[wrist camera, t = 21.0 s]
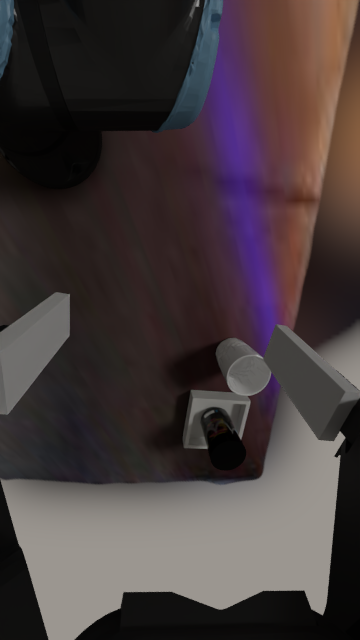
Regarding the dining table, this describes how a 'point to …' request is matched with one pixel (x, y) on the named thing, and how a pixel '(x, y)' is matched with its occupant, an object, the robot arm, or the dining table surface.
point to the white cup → (242, 367)
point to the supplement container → (222, 439)
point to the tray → (206, 400)
